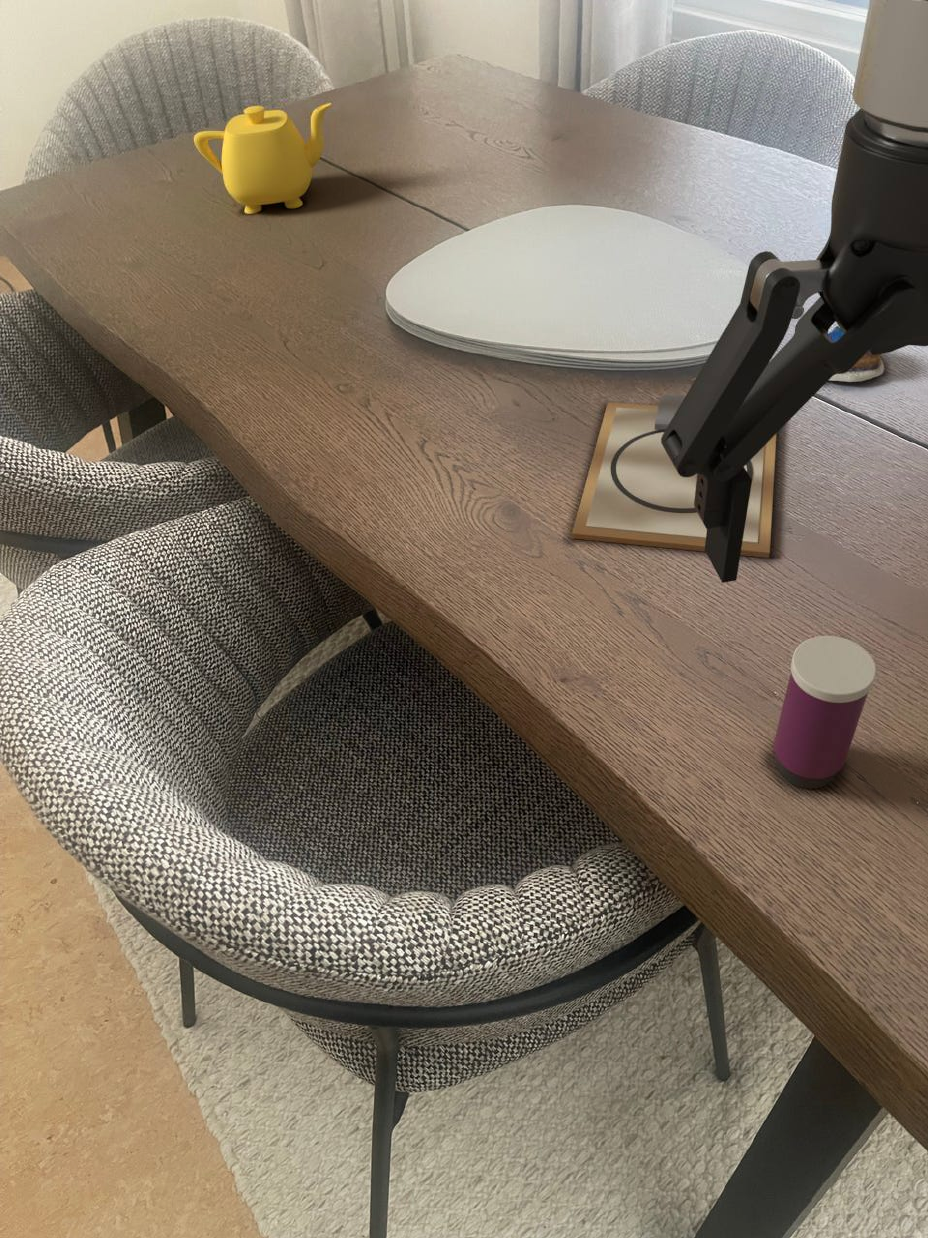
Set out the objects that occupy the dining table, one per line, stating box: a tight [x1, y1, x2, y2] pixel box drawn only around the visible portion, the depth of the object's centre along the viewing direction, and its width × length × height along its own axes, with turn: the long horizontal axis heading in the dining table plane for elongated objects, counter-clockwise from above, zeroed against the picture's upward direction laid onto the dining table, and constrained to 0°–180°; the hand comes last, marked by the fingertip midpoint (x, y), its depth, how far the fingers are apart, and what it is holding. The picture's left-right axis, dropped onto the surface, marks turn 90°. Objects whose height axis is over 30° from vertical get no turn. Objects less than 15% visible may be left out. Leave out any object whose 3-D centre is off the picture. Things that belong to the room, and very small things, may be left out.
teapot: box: [193, 102, 332, 215], centre depth 134 cm, size 13×20×12 cm
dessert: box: [828, 325, 885, 383], centre depth 93 cm, size 8×7×6 cm
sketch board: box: [571, 394, 778, 559], centre depth 83 cm, size 21×16×1 cm
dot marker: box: [773, 635, 877, 790], centre depth 58 cm, size 5×5×10 cm
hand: (843, 542), depth 50 cm, fingers open, 13 cm apart
